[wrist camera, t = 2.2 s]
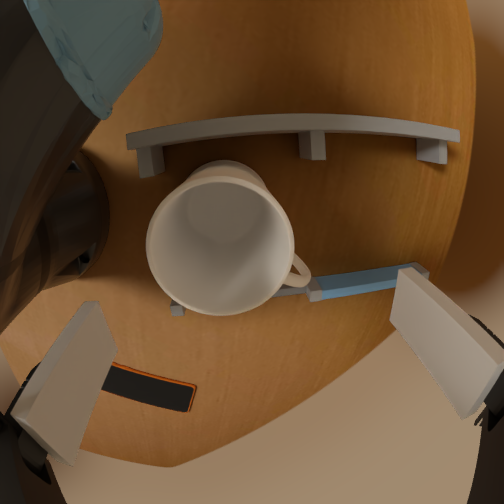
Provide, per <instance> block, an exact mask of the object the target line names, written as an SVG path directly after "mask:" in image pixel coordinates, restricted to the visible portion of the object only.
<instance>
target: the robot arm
mask: <svg viewBox="0 0 504 504" xmlns="http://www.w3.org/2000/svg"><path fill="white" fill-rule="evenodd" d="M162 34H163V17H162V11H161V7H160V4H159V1H158V0H0V334H1V333H2V332H3V331H4V330H5V329H6V328H7V326H8V325H9V324H10V323H11V322H12V321H13V320H14V319H15V318H16V316H17V315H18V314H19V313H20V312H21V311H22V310H23V309H24V308H25V307H26V306H27V305H28V304H29V303H30V302H31V301H32V299H33V298H34V297H35V296H36V295H37V294H38V293H39V292H40V291H42V290H45V289H48V288H52V287H55V286H58V285H61V284H64V283H67V282H70V281H73V280H75V279H76V278H78V277H80V276H81V275H82V274H84V273H85V272H86V271H87V270H88V269H89V268H90V267H91V266H92V265H93V264H94V263H95V261H96V260H97V259H98V257H99V256H100V254H101V252H102V250H103V248H104V246H105V243H106V240H107V235H108V230H109V205H108V199H107V194H106V191H105V188H104V185H103V182H102V180H101V178H100V176H99V174H98V172H97V170H96V169H95V167H94V166H93V164H92V163H91V162H90V161H89V159H88V158H87V157H86V156H85V155H84V154H82V153H81V152H80V151H79V150H80V149H81V147H82V146H83V144H84V143H85V141H86V140H87V139H88V137H89V136H90V134H91V133H92V132H93V130H94V129H95V127H96V126H97V125H98V123H99V122H100V121H101V119H102V120H106V119H107V118H108V117H109V116H110V115H111V113H112V105H113V104H114V103H115V101H116V100H117V99H118V97H119V96H120V95H121V94H122V92H123V91H124V90H125V88H126V87H127V86H128V85H129V83H130V82H131V81H132V80H133V79H134V77H135V76H136V75H137V74H138V73H139V72H140V70H141V69H142V68H143V67H144V66H145V65H146V64H147V63H148V62H149V60H150V59H151V58H152V57H153V55H154V54H155V53H156V51H157V49H158V47H159V45H160V42H161V39H162ZM390 322H391V323H392V324H393V325H394V327H395V328H396V329H397V330H398V332H399V333H400V334H401V336H402V337H403V338H404V339H405V341H406V342H407V343H408V345H409V346H410V347H411V349H412V350H413V351H414V352H415V354H416V355H417V356H418V358H419V359H420V361H421V362H422V363H423V364H424V366H425V367H426V369H427V370H428V372H429V373H430V374H431V376H432V377H433V378H434V380H435V381H436V382H437V384H438V386H439V387H440V388H441V390H442V391H443V392H444V394H445V396H446V397H447V399H448V400H449V401H450V403H451V404H452V406H453V407H454V409H455V410H456V412H457V413H458V415H459V416H460V418H461V420H463V419H465V418H467V417H469V416H470V415H472V414H474V413H475V412H476V411H477V410H478V408H479V407H480V405H481V404H482V403H483V401H484V402H485V404H486V405H487V406H486V407H485V409H484V410H483V411H482V413H481V414H480V415H479V416H478V418H477V419H476V420H475V423H474V425H475V426H476V425H477V423H479V421H480V420H481V419H482V418H483V420H482V422H481V424H480V425H479V426H482V431H481V439H480V447H479V453H478V459H477V464H476V469H475V474H474V478H473V483H472V487H471V491H470V494H469V498H468V501H467V504H504V343H503V342H502V341H501V340H500V339H499V338H497V336H496V335H493V332H492V331H490V330H489V329H487V327H486V326H485V325H484V324H483V323H482V322H481V321H480V320H479V319H477V318H475V317H473V316H471V315H469V314H467V313H466V312H464V311H463V310H462V309H461V308H460V307H459V306H458V305H457V304H456V303H454V302H453V301H452V300H451V299H450V298H449V297H447V296H446V295H445V294H444V293H443V292H442V291H440V290H439V289H438V288H437V287H436V286H435V285H433V284H432V283H431V282H430V281H428V280H427V279H426V278H425V277H424V276H422V275H421V274H420V273H419V272H417V271H416V270H415V269H414V268H412V267H409V268H403V269H399V271H398V277H397V283H396V289H395V295H394V300H393V305H392V310H391V315H390ZM117 351H118V348H117V346H116V344H115V342H114V339H113V337H112V335H111V332H110V330H109V327H108V325H107V322H106V320H105V317H104V315H103V312H102V310H101V307H100V304H99V301H85V302H84V303H83V304H82V306H81V307H80V308H79V310H78V311H77V312H76V313H75V315H74V316H73V317H72V319H71V320H70V321H69V323H68V324H67V326H66V327H65V328H64V330H63V331H62V332H61V334H60V335H59V337H58V338H57V339H56V341H55V342H54V344H53V345H52V347H51V348H50V350H49V351H48V352H47V354H46V355H45V357H44V358H43V360H42V361H41V362H40V363H39V364H37V365H36V366H35V367H34V368H33V369H32V370H31V371H30V373H29V375H28V376H27V378H26V381H24V383H23V384H22V386H21V388H20V389H19V391H18V392H17V394H16V396H15V398H14V399H13V401H12V403H11V405H10V406H9V408H8V410H7V412H6V413H5V415H3V414H2V413H1V412H0V504H67V503H66V501H65V499H64V497H63V494H62V493H61V490H60V487H59V485H58V482H57V480H56V478H55V475H54V472H53V470H52V467H51V464H50V462H49V461H48V460H47V459H46V457H47V454H49V455H51V456H52V457H53V458H54V459H55V460H56V461H58V462H60V463H63V464H66V465H70V466H74V462H75V459H76V456H77V453H78V450H79V447H80V444H81V441H82V438H83V435H84V432H85V430H86V427H87V424H88V421H89V419H90V416H91V413H92V411H93V408H94V405H95V403H96V400H97V398H98V395H99V393H100V390H101V388H102V386H103V383H104V381H105V378H106V376H107V374H108V371H109V369H110V367H111V364H112V362H113V360H114V358H115V355H116V353H117Z"/></svg>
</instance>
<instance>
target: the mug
mask: <svg viewBox="0 0 504 504" xmlns="http://www.w3.org/2000/svg"><path fill="white" fill-rule="evenodd" d="M146 254H147V260H148V264H149V267H150V269H151V272H152V274H153V276H154V278H155V280H156V281H157V283H158V284H159V286H160V287H161V288H162V289H163V290H164V292H165V293H166V294H167V295H168V296H170V297H171V298H172V299H173V300H174V301H176V302H177V303H179V304H180V305H182V306H184V307H186V308H188V309H190V310H193V311H195V312H199V313H202V314H207V315H215V316H226V315H234V314H239V313H243V312H246V311H249V310H251V309H254V308H256V307H258V306H259V305H261V304H263V303H264V302H266V301H267V300H268V299H269V298H271V297H272V296H273V295H274V294H275V293H276V292H277V291H278V290H279V288H280V287H281V286H282V284H286V285H289V286H292V287H304V286H306V285H307V284H308V283H309V281H310V279H311V273H310V270H309V269H308V267H307V266H306V264H305V263H304V262H303V261H302V260H301V259H300V258H299V257H298V256H297V255H296V254H295V253H294V236H293V231H292V227H291V224H290V221H289V219H288V217H287V215H286V213H285V211H284V210H283V208H282V207H281V205H280V204H279V203H278V202H277V200H276V199H275V198H274V197H273V196H272V194H271V193H270V192H269V191H268V190H267V188H266V186H265V184H264V182H263V180H262V179H261V178H260V176H259V175H258V174H257V173H256V172H255V171H254V170H252V169H251V168H250V167H248V166H246V165H244V164H242V163H239V162H236V161H231V160H217V161H212V162H209V163H206V164H204V165H202V166H200V167H199V168H197V169H196V170H195V171H194V172H192V173H191V174H190V175H189V177H188V178H187V179H186V181H185V182H184V183H182V184H181V185H180V186H178V187H177V188H176V189H175V190H173V191H172V192H171V193H170V194H169V195H168V196H167V197H166V198H165V199H164V200H163V201H162V202H161V203H160V205H159V206H158V207H157V209H156V211H155V212H154V214H153V216H152V218H151V221H150V223H149V227H148V230H147V236H146ZM292 264H293V265H294V266H295V267H296V269H297V270H298V271H299V273H300V274H301V275H297V274H294V273H291V272H290V269H291V266H292Z"/></svg>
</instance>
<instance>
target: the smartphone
mask: <svg viewBox="0 0 504 504" xmlns="http://www.w3.org/2000/svg"><path fill="white" fill-rule="evenodd" d="M195 389H196V386H195V385H194V384H190V383H185V382H181V381H177V380H172V379H168V378H164V377H160V376H157V375H153V374H149V373H146V372H142V371H139V370H135V369H132V368H130V367H127V366H124V365H119V364H117V363H115V362H112V364H111V367H110V369H109V371H108V374H107V376H106V378H105V381H104V383H103V386H102V388H101V390H103V391H106V392H109V393H112V394H115V395H118V396H121V397H124V398H128V399H131V400H134V401H138V402H141V403H145V404H149V405H153V406H157V407H161V408H165V409H169V410H174V411H178V412H183V413H188V412H189V410H190V406H191V403H192V399H193V396H194V393H195Z"/></svg>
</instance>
